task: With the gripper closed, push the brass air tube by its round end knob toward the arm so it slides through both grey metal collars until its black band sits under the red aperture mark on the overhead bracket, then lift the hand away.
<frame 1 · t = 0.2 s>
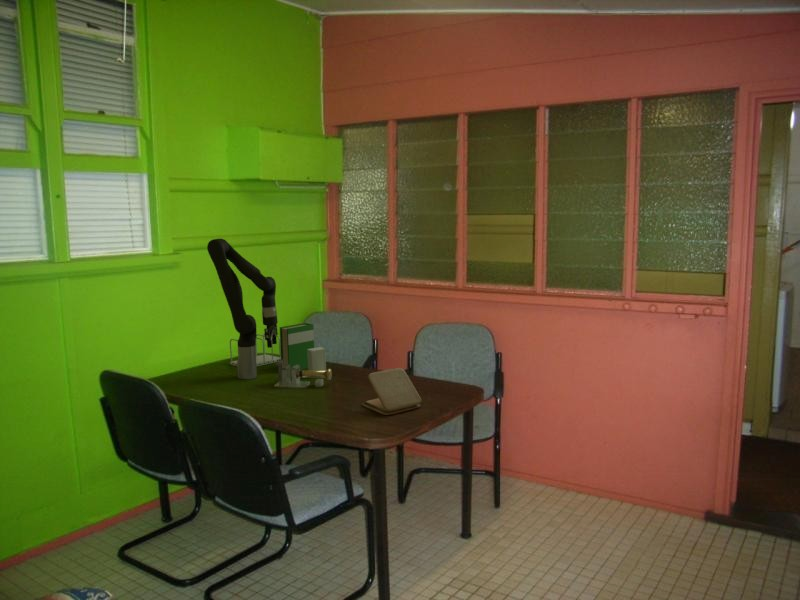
hand: (272, 345, 341), 17 cm above the table, tool pointing down, fingers open, 8 cm apart
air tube: (311, 373, 327), point 6 cm above the table, slide at 0.0 cm
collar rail: (292, 385, 329), on the table
case: (391, 407, 292), on the table
file sorter: (256, 363, 378), on the table
skincare box: (317, 376, 347), on the table
hardback book: (298, 368, 364), on the table
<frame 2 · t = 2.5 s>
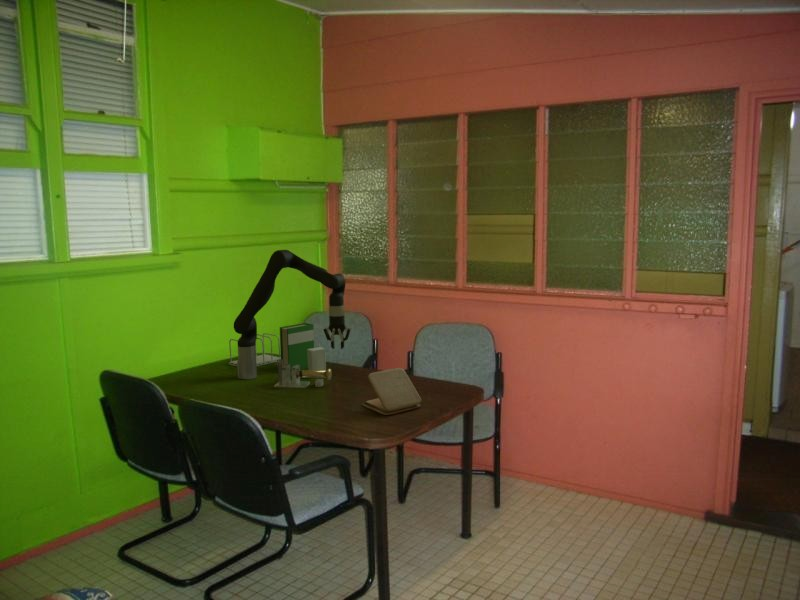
hand: (337, 348, 323), 19 cm above the table, tool pointing down, fingers open, 3 cm apart
nothing on the table moved.
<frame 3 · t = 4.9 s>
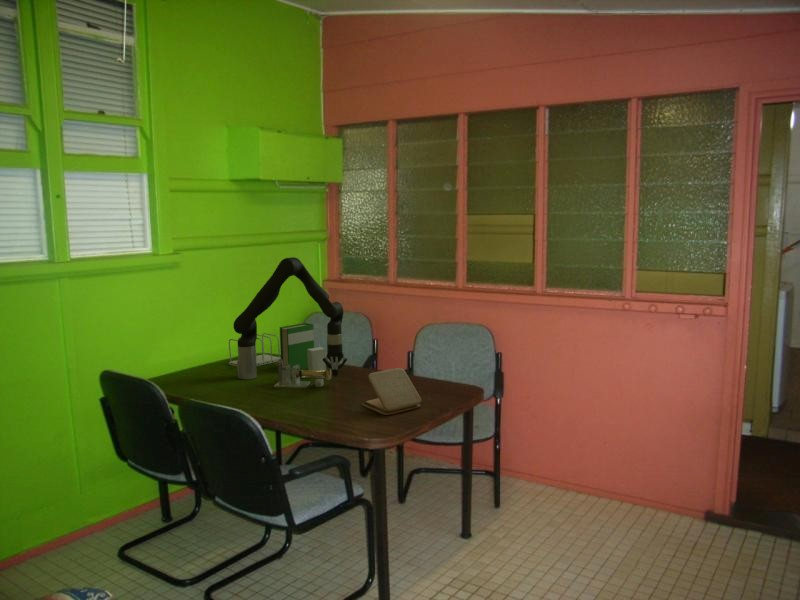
hand: (335, 376, 325), 5 cm above the table, tool pointing down, fingers closed
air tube: (311, 373, 327), point 6 cm above the table, slide at 0.2 cm, touching gripper
everything else where it was.
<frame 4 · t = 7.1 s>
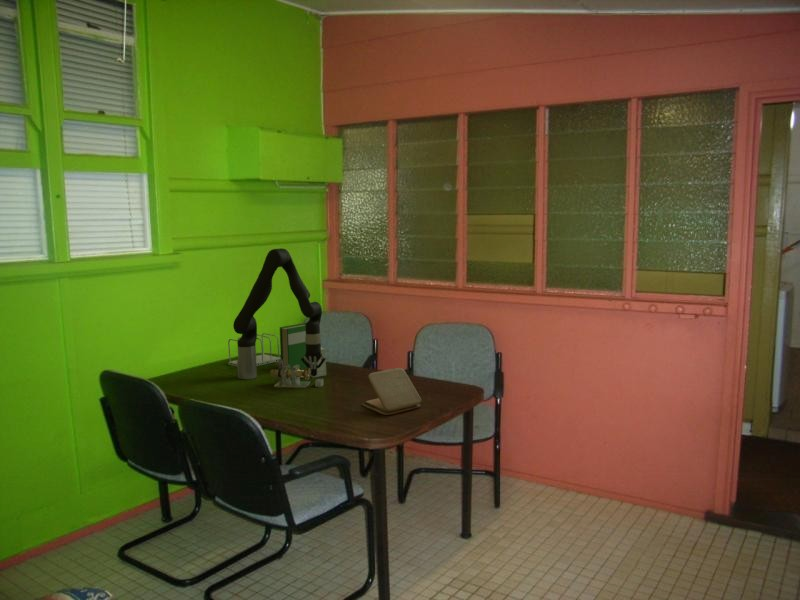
hand: (314, 375, 327), 5 cm above the table, tool pointing down, fingers closed
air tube: (290, 373, 328), point 6 cm above the table, slide at 11.2 cm, touching gripper
everything else where it was.
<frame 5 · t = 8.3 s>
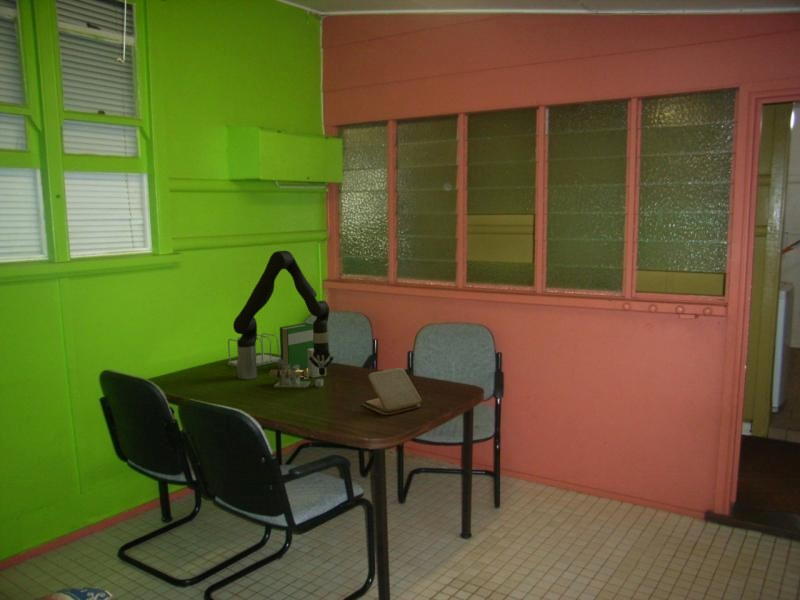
hand: (322, 375, 326), 6 cm above the table, tool pointing down, fingers closed
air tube: (289, 373, 328), point 6 cm above the table, slide at 11.5 cm
everything else where it was.
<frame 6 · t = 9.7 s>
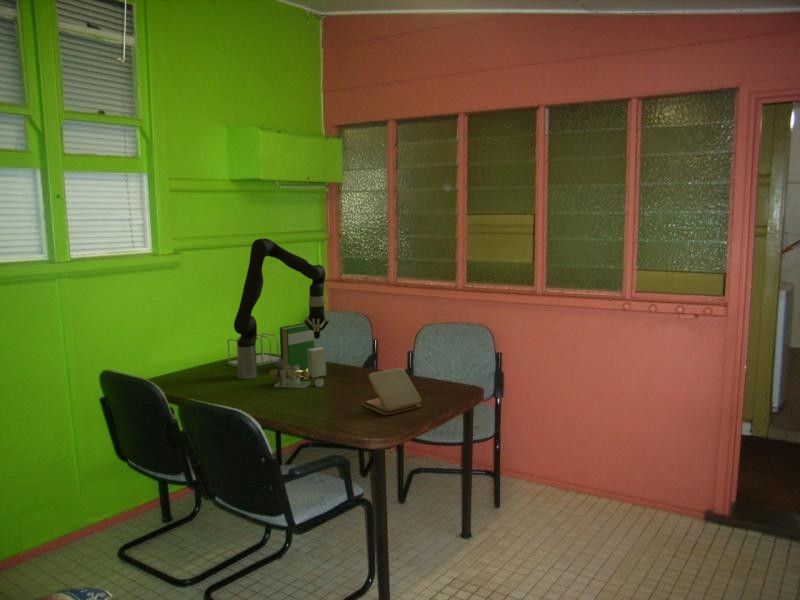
hand: (317, 338, 330), 23 cm above the table, tool pointing down, fingers closed
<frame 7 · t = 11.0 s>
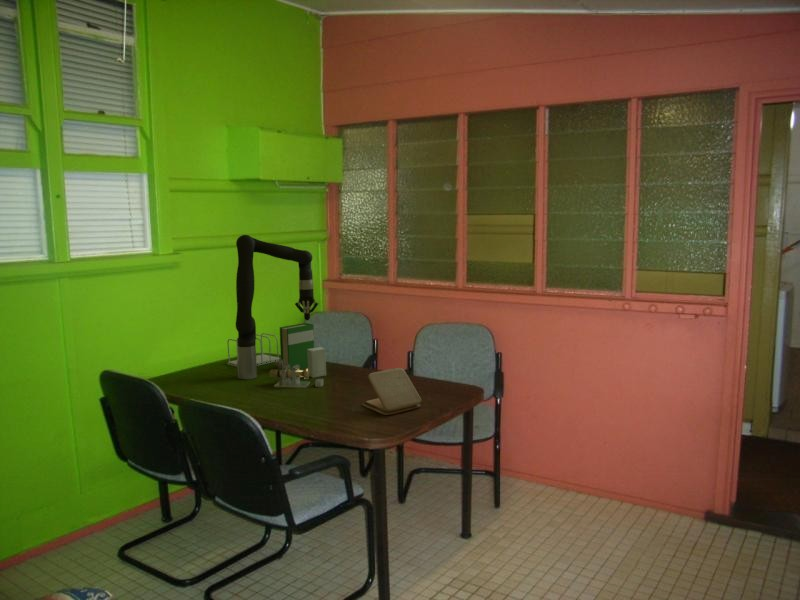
hand: (307, 320, 349), 29 cm above the table, tool pointing down, fingers closed
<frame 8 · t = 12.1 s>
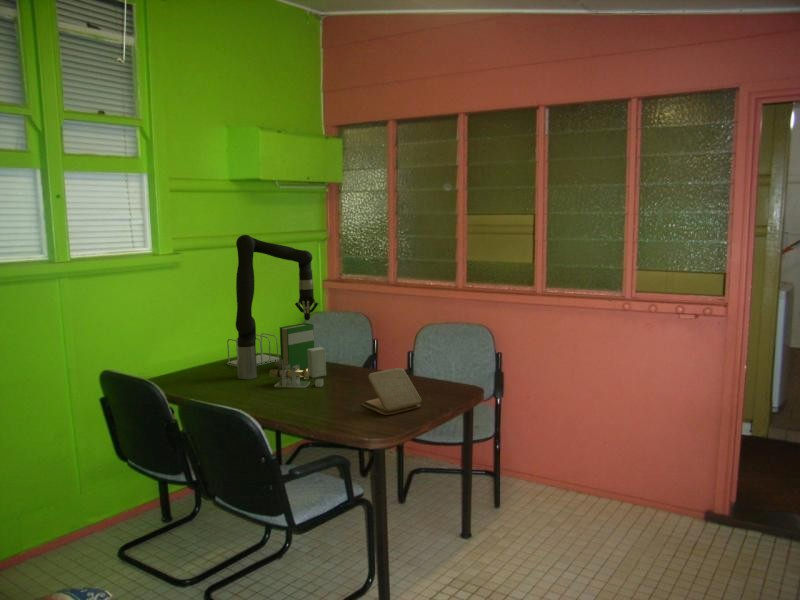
hand: (307, 320, 349), 29 cm above the table, tool pointing down, fingers closed
at the end: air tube slide at 11.5 cm; the gripper is holding nothing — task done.
